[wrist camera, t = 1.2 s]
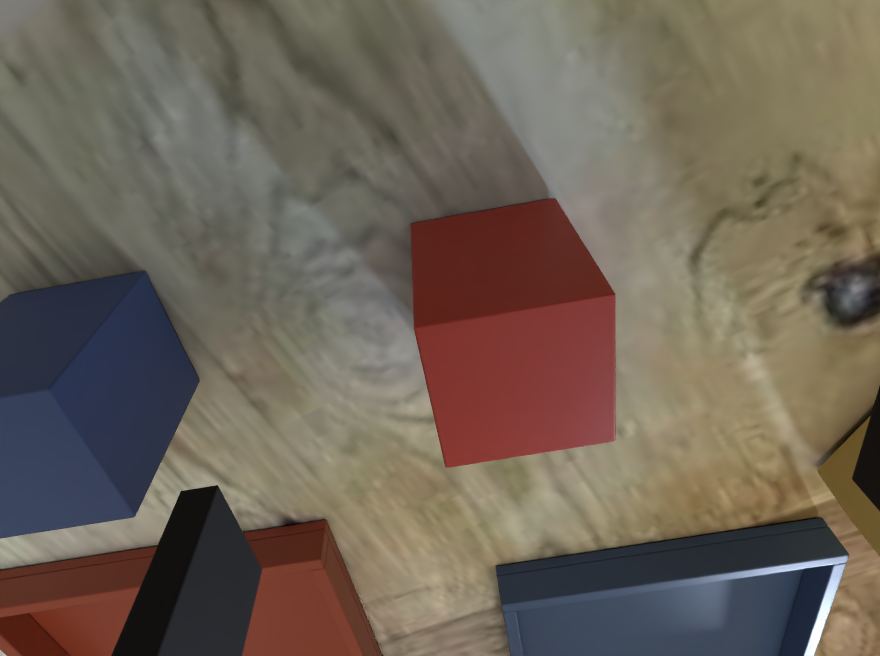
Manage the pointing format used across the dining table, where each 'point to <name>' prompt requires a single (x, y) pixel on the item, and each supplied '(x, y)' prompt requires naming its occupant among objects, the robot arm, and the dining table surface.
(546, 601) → the blue tray
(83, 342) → the blue block
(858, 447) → the cheese
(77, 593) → the red tray
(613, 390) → the red block
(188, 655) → the robot arm
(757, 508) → the dining table surface
